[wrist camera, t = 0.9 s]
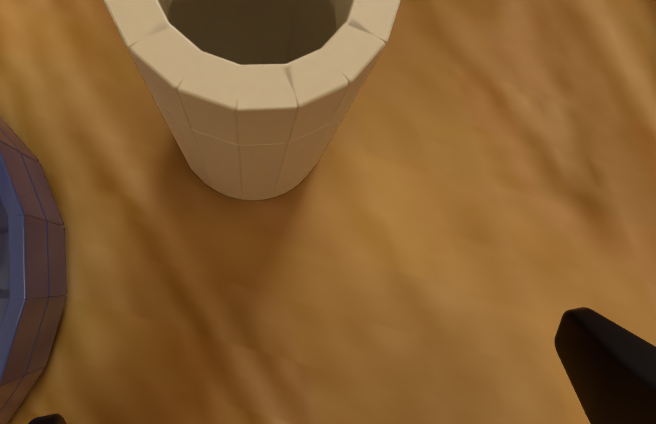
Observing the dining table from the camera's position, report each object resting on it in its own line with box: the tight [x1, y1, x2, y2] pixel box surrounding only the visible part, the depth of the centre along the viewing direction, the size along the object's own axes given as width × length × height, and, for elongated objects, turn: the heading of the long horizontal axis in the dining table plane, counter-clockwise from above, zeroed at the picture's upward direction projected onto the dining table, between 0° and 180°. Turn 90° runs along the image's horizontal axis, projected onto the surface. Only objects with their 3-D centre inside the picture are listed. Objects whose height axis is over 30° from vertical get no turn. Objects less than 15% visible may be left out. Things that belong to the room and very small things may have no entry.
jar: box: [103, 0, 401, 200], centre depth 17 cm, size 6×6×12 cm
